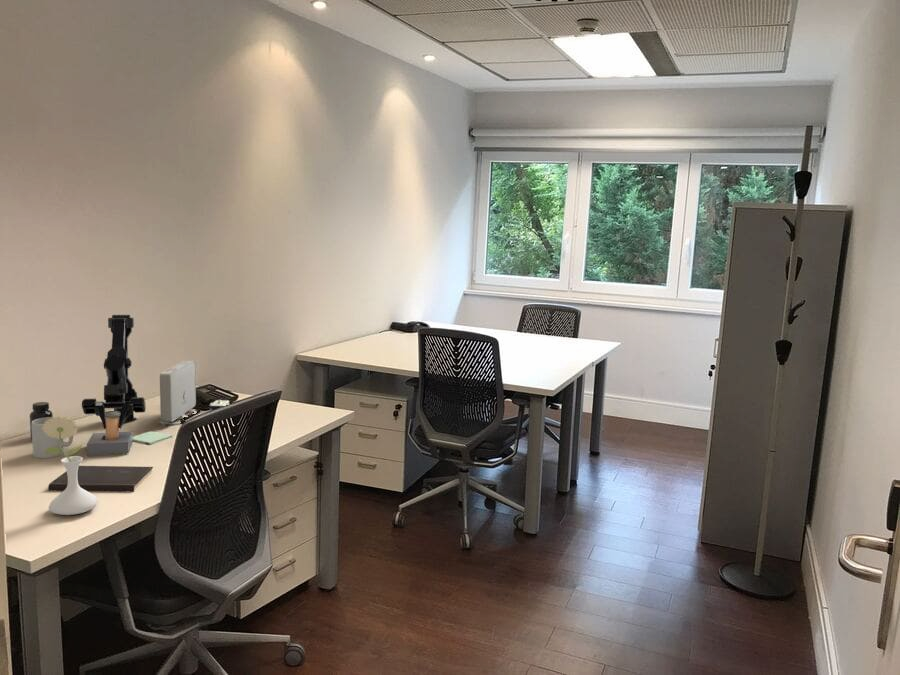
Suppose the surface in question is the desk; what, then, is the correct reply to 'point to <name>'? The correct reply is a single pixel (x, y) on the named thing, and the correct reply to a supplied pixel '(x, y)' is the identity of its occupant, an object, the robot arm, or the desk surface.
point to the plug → (112, 425)
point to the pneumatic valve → (218, 404)
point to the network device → (177, 392)
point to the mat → (151, 437)
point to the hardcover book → (105, 478)
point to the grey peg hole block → (109, 444)
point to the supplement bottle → (39, 412)
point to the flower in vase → (68, 471)
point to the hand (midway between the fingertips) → (112, 428)
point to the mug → (45, 440)
